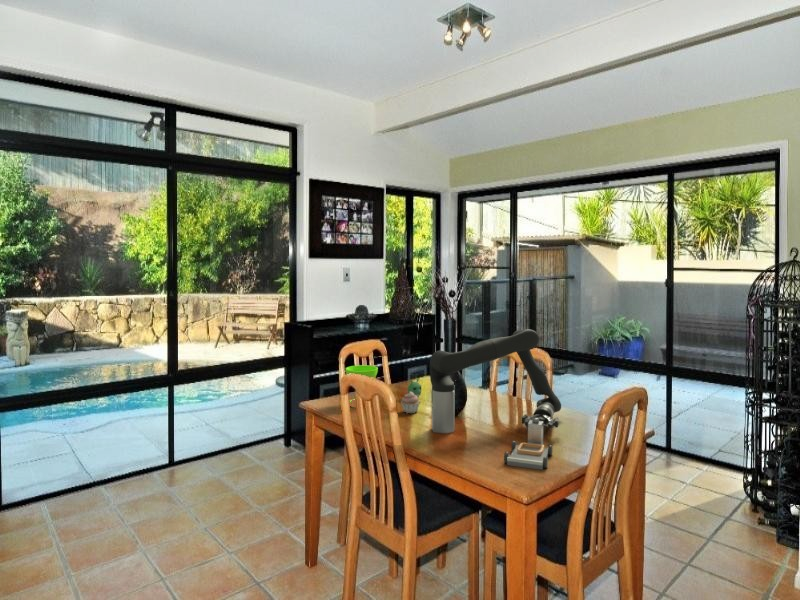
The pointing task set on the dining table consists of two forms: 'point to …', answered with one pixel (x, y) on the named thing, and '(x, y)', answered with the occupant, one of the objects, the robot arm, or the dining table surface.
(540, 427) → the block
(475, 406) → the dining table surface
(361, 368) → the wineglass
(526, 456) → the chassis
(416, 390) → the alien toy
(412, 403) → the cupcake
